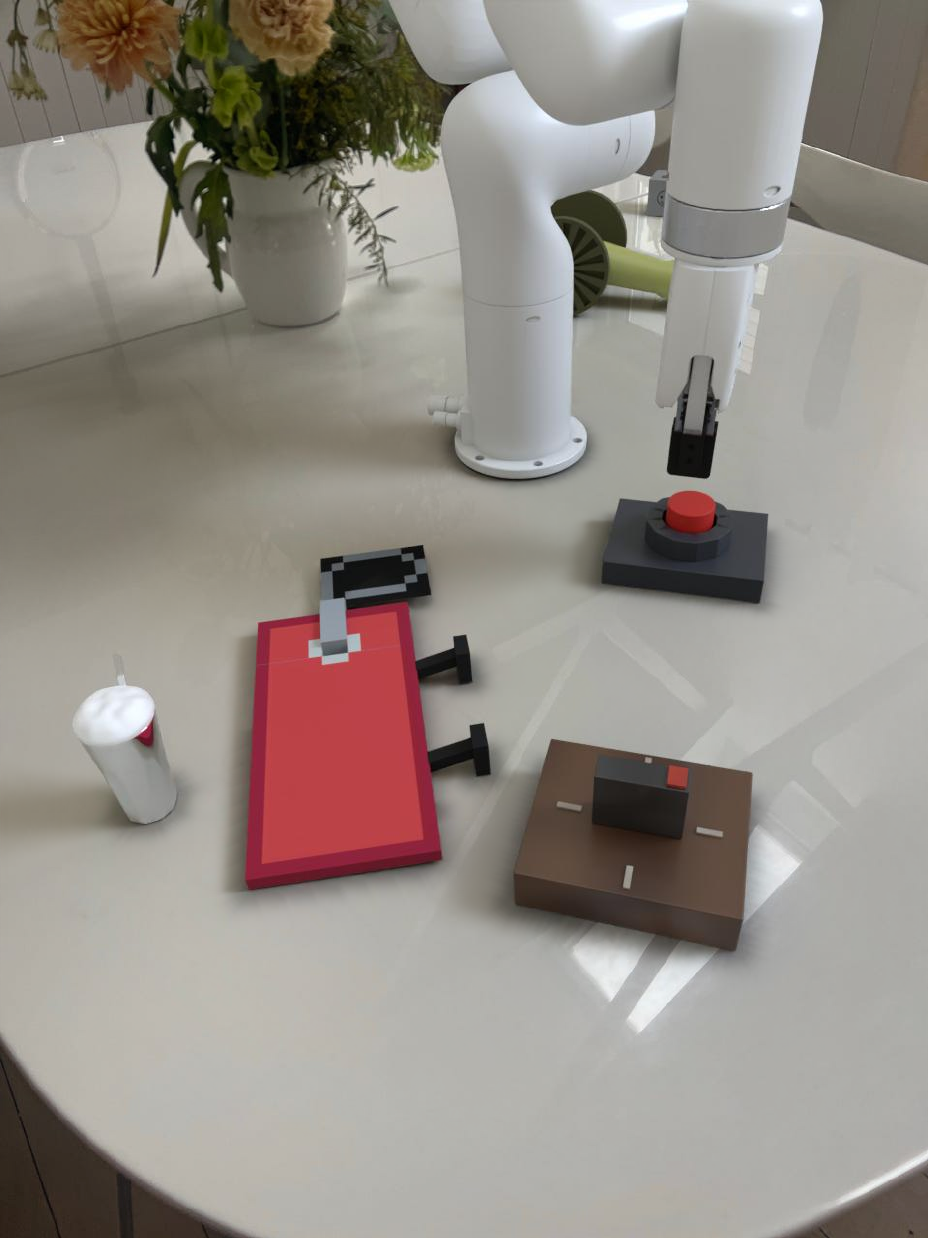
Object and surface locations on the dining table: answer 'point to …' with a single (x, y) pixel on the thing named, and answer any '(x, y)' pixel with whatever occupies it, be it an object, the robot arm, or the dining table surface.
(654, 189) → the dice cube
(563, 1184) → the dining table surface
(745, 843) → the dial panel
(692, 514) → the power button
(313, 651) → the red board with handle
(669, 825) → the box with red button
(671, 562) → the button box
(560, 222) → the cannon
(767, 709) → the dining table surface
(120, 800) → the milkshake
